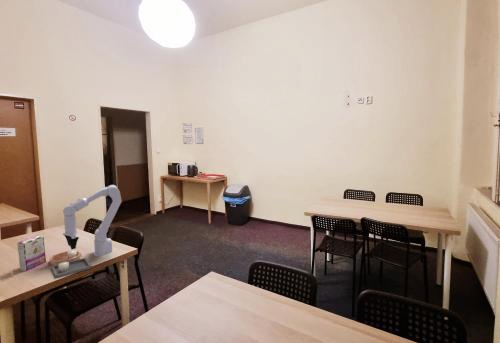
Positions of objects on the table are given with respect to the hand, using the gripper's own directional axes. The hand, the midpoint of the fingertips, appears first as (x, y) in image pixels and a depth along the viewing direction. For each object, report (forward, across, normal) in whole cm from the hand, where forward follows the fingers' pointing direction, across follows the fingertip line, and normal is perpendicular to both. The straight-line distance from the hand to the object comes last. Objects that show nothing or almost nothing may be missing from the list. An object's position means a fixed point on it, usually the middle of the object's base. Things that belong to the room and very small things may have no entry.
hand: (72, 247), depth 157 cm
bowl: (+7, 0, -3) cm, 8 cm away
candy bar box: (+8, -2, -18) cm, 20 cm away
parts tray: (+7, +16, -3) cm, 17 cm away
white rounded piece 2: (+7, 0, 0) cm, 7 cm away
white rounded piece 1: (+7, +16, -7) cm, 18 cm away
